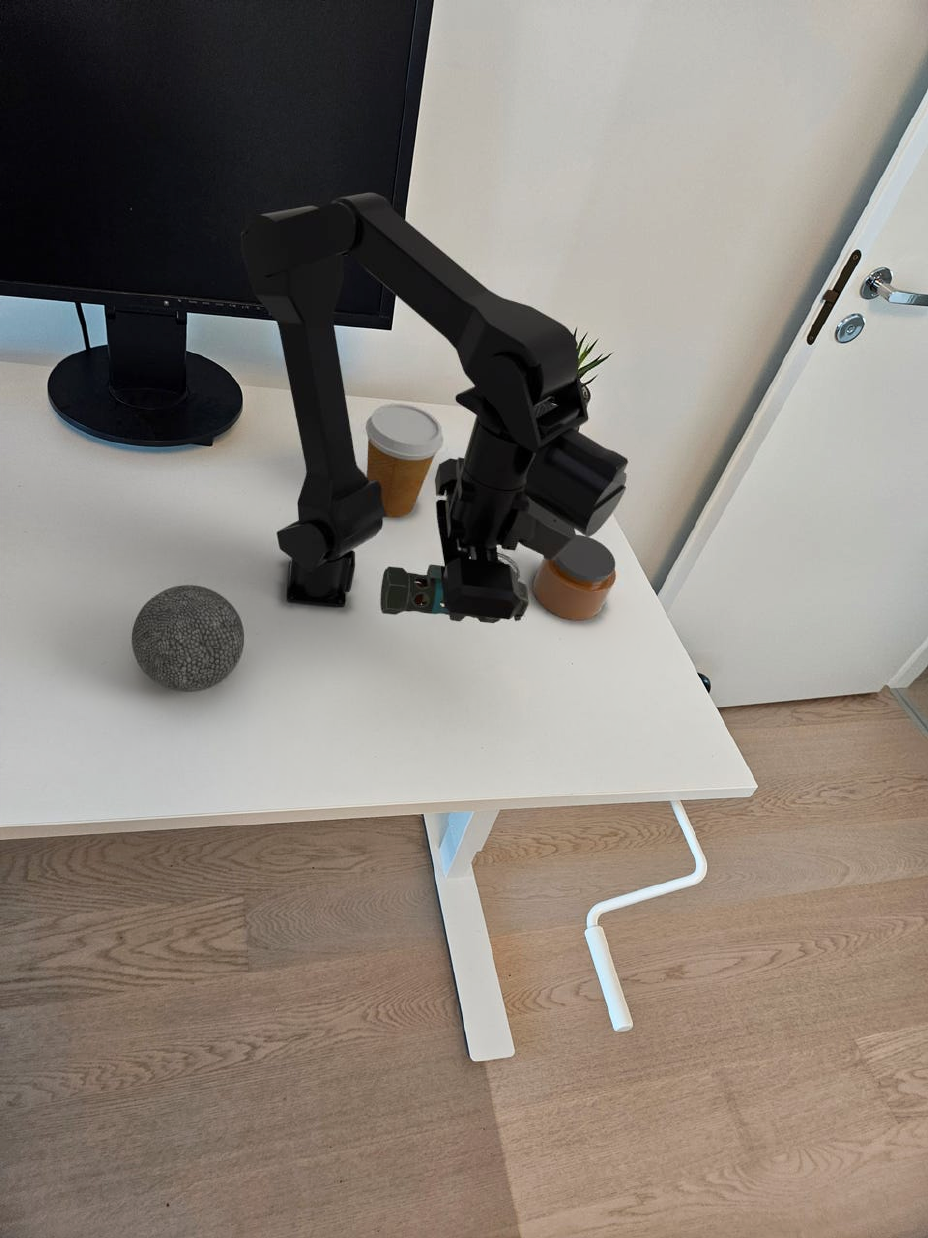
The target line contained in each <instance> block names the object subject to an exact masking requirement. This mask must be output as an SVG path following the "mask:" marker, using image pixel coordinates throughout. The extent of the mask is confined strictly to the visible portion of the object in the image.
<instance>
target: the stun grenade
mask: <svg viewBox="0 0 928 1238" xmlns="http://www.w3.org/2000/svg"><path fill="white" fill-rule="evenodd" d="M497 554H498V558H502V559H504V560H506V561H507V562H508V563H509V564H510V565H511V566H512V567H513V569H514V571H515V572H516V573H517V579H518V585H519V591H520V598H521V602H520V604H519V607H518V609H517V612H516V614H515V616H514V617H513V620H514V621H515V622H520V621H521V620H522V618H523V616H525V613H526V611H527V609H528V607H529V606H530V598H529V592H528V586H527V584H526V583H524V582H521V581H520V580H519V579H520V577H521V572H520V571H521V570H520V568H519V565H518V564H517V563H516V562H515V560H514V559H513V558H511V557H510V556H508V555H506V554H505V553H501V552H497ZM441 567H446V566H445V565H440V564H439V565H438V564H429V565H428V567H427V571H426V574H419V573H414V572H407V571H406V570H405V569H404V567H400V566H399V567H397V566H388V567H386V568H385V569H384V572H383V573H382V574H383V576H382V579H381V587H380V601H379V602H380V604H379V605H380V610H381V613H382V614H384V615H393V616H396V615H398V614H401V613H404V612H407V613H408V612H409V613H410V612H416V613H417V612H418V613H422V614H429V615H430V614H431V615H447V616H449V613H448V610H447V609H446V608H445V607H444V599H443V590H442V582H441ZM466 617H470V618H473V619H477V620H478V621H479V622H480V623H486V624H495V623H497V622H499V621H500V620H501V619H500V618H492V617H483V616H475V615H467V616H466Z"/></svg>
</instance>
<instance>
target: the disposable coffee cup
mask: <svg viewBox="0 0 928 1238" xmlns="http://www.w3.org/2000/svg"><path fill="white" fill-rule="evenodd" d="M365 431H366V435H367V461H366V477H367V478H368V479H369V480H370V481H378V482H379V483H380V485H381V487H382V503H383V507H384V509H385V512H386V514H387V516H386V517H389V518H390V517H391V518H400V517H403V516H407V515H409V514H410V513H412V511H413V509H414V506H415V504H416V502H417V499H418V497H419V495H420V492H421V490H422V488H423V485H424V482H425V480H426V477H427V476H428V473H429V470H430V468H431V466H432V463H433V461H434V459H435V457H436V454H437V453H438V452H439V451H440V449H441V448H442V447H443V443H444V436H443V433H442V432H443V431H442V426H441V424H440V422H439V421H438V419H437V418H436V417H435V416H433V414H431V413H430V412H428V411H426V410H424V409H422V408H420V407H416V406H414V405H410V404H405V403H388V404H384V405H381V406H379V407H377V408H375V410H374V411H373V412H372V414H371V415H370V416H369V418H368V419H367V420H366V423H365Z"/></svg>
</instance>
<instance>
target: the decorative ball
mask: <svg viewBox="0 0 928 1238" xmlns="http://www.w3.org/2000/svg"><path fill="white" fill-rule="evenodd" d="M243 625H244V624H243V622H242V620H241V617H240V615H239V613H238V611H237V610H236V608H235V607H234V605H233V604H232V603H231V602H230V601H229V600H228V599H227V598H225V596H223V595H221V594H220V593H218V592H217V591H215V590H212V589H211V588H207V587H205V586H200V585H195V584H183V585H175V586H172V587H169V588H166V589H163V590H162V591H160V592H158V593H157V594H155V595H154V596H152V597H151V598H150V599H149V600H148V601H146V602H145V604H144V605H142V607H141V609H140V610H139V611H138V613H137V616H136V618H135V620H134V623H133V627H132V632H131V647H132V652H133V655H134V658H135V661H136V663H137V664H138V666H139V668H140V669H141V670H142V672H143V673H144V675H146V676H147V677H148V678H149V679H151V680H152V681H153V682H154V683H156V684H158V685H160V686H161V687H163V688H166V689H168V690H172V691H175V692H182V693H194V692H195V693H196V692H200V691H204V690H207V689H209V688H212V687H214V686H216V685H218V684H219V683H221V682H222V681H224V680H225V679H226V678H227V677H228V676H229V675H230V674H231V673H232V672H233V671H234V670H235V668H236V667H237V665H238V663H239V661H240V659H241V657H242V655H243V650H244V645H245V630H244V626H243Z"/></svg>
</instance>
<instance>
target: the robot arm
mask: <svg viewBox="0 0 928 1238" xmlns="http://www.w3.org/2000/svg"><path fill="white" fill-rule="evenodd" d="M240 250H241V255H242V259H243V262H244V265H245V269H246V271H247V275H248V279H249V281H250V284H251V288H252V291H253V294H254V295H255V297H256V298H257V299H258V301H259V302H260V303H261V304H262V305H263V307H264V308H265V309H266V310H267V312H268V313H269V314H270V315H271V317H272V318H273V319H274V320H275V322H276V323H277V326H278V331H279V336H280V343H281V346H282V352H283V356H284V363H285V366H286V372H287V377H288V383H289V389H290V394H291V398H292V403H293V409H294V413H295V418H296V419H295V420H296V423H297V429H298V433H299V434H298V435H299V439H300V445H301V449H302V455H303V459H304V465H305V469H306V470H305V471H306V473H305V478H304V480H303V483H302V486H301V489H300V493H299V495H298V499H297V505H296V506H297V516H298V518H297V519H298V520H296V521H294V522H292V523H291V524H289V525H286V526H285V527H283V528H281V529H280V530H278V531H276V537H277V542H278V548H279V550H280V551H281V552H283V553H284V554H285V555H287V556H288V557H289V558H290V560H289V561H288V566H287V567H288V569H287V582H286V595H285V599H286V600H285V601H287V602H288V603H294V604H304V605H314V606H322V607H323V606H324V607H325V606H326V607H335V608H344V607H346V603H347V593H350V592H351V589H352V584H353V579H354V574H355V569H356V552H355V551H354V550H355V549H356V548H358V547H359V546H362V544H364V543H366V542H368V541H369V540H371V539H373V538H374V537H376V536H377V535H378V534H379V532H380V531H381V530H382V529H383V525H384V524H383V523H384V521H383V520H384V519H383V518H386V517H388V516H387V514H386V512H385V509H384V507H383V503H382V487H381V485H380V483H379V482H378V481H370V480H369V479H368V478H367V475H365V473H364V472H363V471H362V470H361V469H360V467H359V466H358V464H357V460H356V454H355V448H354V441H353V435H352V429H351V423H350V418H349V411H348V404H347V398H346V392H345V385H344V379H343V373H342V367H341V361H340V354H339V348H338V341H337V335H336V330H335V324H334V313H335V310H336V305H337V303H338V300H339V297H340V294H341V290H342V287H343V284H344V258H343V257H346V256H350V257H351V258H352V259H353V260H354V261H355V262H356V263H357V264H358V265H360V266H361V267H362V268H364V270H365V271H366V272H368V273H370V275H371V276H373V278H375V279H376V280H377V281H378V282H379V283H381V284H382V285H383V286H385V288H387V289H388V290H389V291H390V292H391V293H393V295H395V296H396V297H397V298H398V299H400V300H401V301H402V302H403V303H404V304H405V305H406V306H407V307H409V308H410V309H411V310H412V311H413V312H415V313H416V314H417V315H418V316H419V317H421V318H422V319H423V321H425V322H426V323H428V325H430V326H431V327H432V328H434V329H435V330H436V331H437V332H438V333H439V334H440V335H441V336H443V337H444V338H445V339H446V340H447V341H448V343H450V345H451V346H452V347H453V348H454V350H456V353H457V356H458V360H459V362H460V365H461V367H462V370H463V372H464V375H465V376H466V377H467V379H468V380H469V381H470V382H471V383H472V384H473V385H474V386H472V387H470V388H467V389H465V390H463V391H461V392H459V393H457V394H456V395H455V398H454V399H455V402H456V403H457V404H458V405H460V406H461V407H463V408H465V409H467V410H468V411H470V412H471V413H472V414H474V415H475V419H474V423H473V426H472V430H471V433H470V435H469V440H468V444H467V446H466V450H465V454H464V457H460V456H459V457H457V458H450V457H449V458H448V459H446V460H444V461H442V462H440V463H439V464H438V467H437V470H436V474H435V478H434V487H435V496H437V497H444V496H445V499H437V500H436V502H435V511H436V522H437V529H438V533H439V540H440V546H441V552H442V559H443V564H444V565H443V566H446V567H441V582H442V590H443V599H444V604H443V607H445V608H446V609H447V610H448V613H449V615H448V617H449V620H450V621H451V622H452V621H453V622H462V621H463V620H464V619H465V618H466V617H468V616H467V615H475V616H483V617H492V618H500V620H508V621H509V620H511V619H512V618H514V616H515V614H516V612H517V609H518V607H519V604H520V602H521V598H520V591H519V585H518V581H519V579H517V572H516V570H515V569H514V567H513V566H512V565H511V564H510V563H505V562H504V561H502V560H500V558H499V557H498V554H497V553H498V547H497V546H501V549H502V550H507V551H516V549H517V547H518V545H519V544H520V545H521V546H523V547H525V548H527V549H529V550H531V551H533V552H535V553H538V554H540V555H542V556H543V558H546V559H548V560H554V559H555V558H556V557H557V556H558V555H559V554H560V553H561V552H562V551H563V550H564V549H565V548H566V547H567V546H568V545H569V544H570V543H571V542H572V541H573V540H574V539H575V537H576V535H577V533H576V531H577V532H579V533H581V535H583V536H587V537H590V538H591V536H593V535H595V534H596V533H597V532H598V531H599V530H600V529H601V528H602V527H603V526H604V525H605V524H606V522H607V521H608V519H610V517H611V516H612V514H613V513H614V511H615V510H616V508H617V506H618V505H619V503H620V501H621V499H622V498H623V495H625V491H626V490H627V486H626V483H627V478H628V475H627V473H626V472H625V470H626V469H627V466H628V464H629V460H628V458H627V457H625V456H623V455H621V453H618V452H617V451H614V450H612V449H609V448H606V447H605V446H603V445H601V444H599V443H597V442H596V441H594V440H593V439H592V438H589V437H588V436H586V435H584V434H583V433H581V432H580V431H578V430H579V427H581V426H582V425H584V424H585V423H587V422H588V421H589V418H590V417H589V413H588V409H587V404H586V399H585V395H584V390H583V385H582V382H581V378H580V372H579V364H580V356H579V352H578V345H579V343H578V340H577V338H576V337H575V335H574V334H573V333H572V332H571V330H570V329H569V328H568V327H567V326H565V325H564V324H563V323H561V322H560V321H558V320H556V319H554V318H552V317H550V316H549V315H547V314H545V313H543V312H542V311H539V310H538V309H536V308H535V307H533V306H530V305H527V304H524V303H521V302H517V301H515V300H511V299H507V298H504V297H502V296H500V295H498V294H496V293H495V292H493V291H492V290H489V289H488V288H487V287H486V286H485V285H484V284H482V283H481V282H480V281H479V280H477V278H475V276H473V275H472V274H470V273H469V272H468V271H467V270H466V269H464V267H462V266H461V265H459V263H457V262H456V261H455V260H454V259H452V258H451V257H450V256H449V255H448V254H447V253H445V252H444V251H443V250H442V249H440V248H439V247H438V246H436V244H434V243H433V242H432V241H431V240H430V239H428V237H426V236H425V235H424V234H423V233H421V232H420V231H419V230H418V229H417V228H415V227H414V226H413V225H411V224H410V223H409V222H408V221H407V220H406V219H405V218H403V217H402V216H401V215H399V213H397V212H396V211H395V209H394V208H393V205H392V203H390V201H389V200H388V199H387V198H386V197H384V196H382V195H380V194H378V193H376V192H364V193H359V194H353V195H348V196H341V197H337V198H335V199H334V200H332V201H331V202H330V203H328V204H326V205H323V206H321V207H318V206H314V205H307V206H301V207H295V208H290V209H285V210H284V209H283V210H279V211H273V212H268V213H262V214H258V215H254V216H252V217H251V218H250V219H249V220H248V221H247V223H246V226H245V228H244V231H242V232H241V234H240ZM552 398H553V400H554V401H555V403H556V405H557V406H555V407H553V408H551V409H549V410H548V411H545V412H544V413H542V414H541V415H539V416H536V414H535V410H534V408H535V407H537V406H540V405H541V404H542V403H544V402H546V401H549V400H550V399H552Z"/></svg>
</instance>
